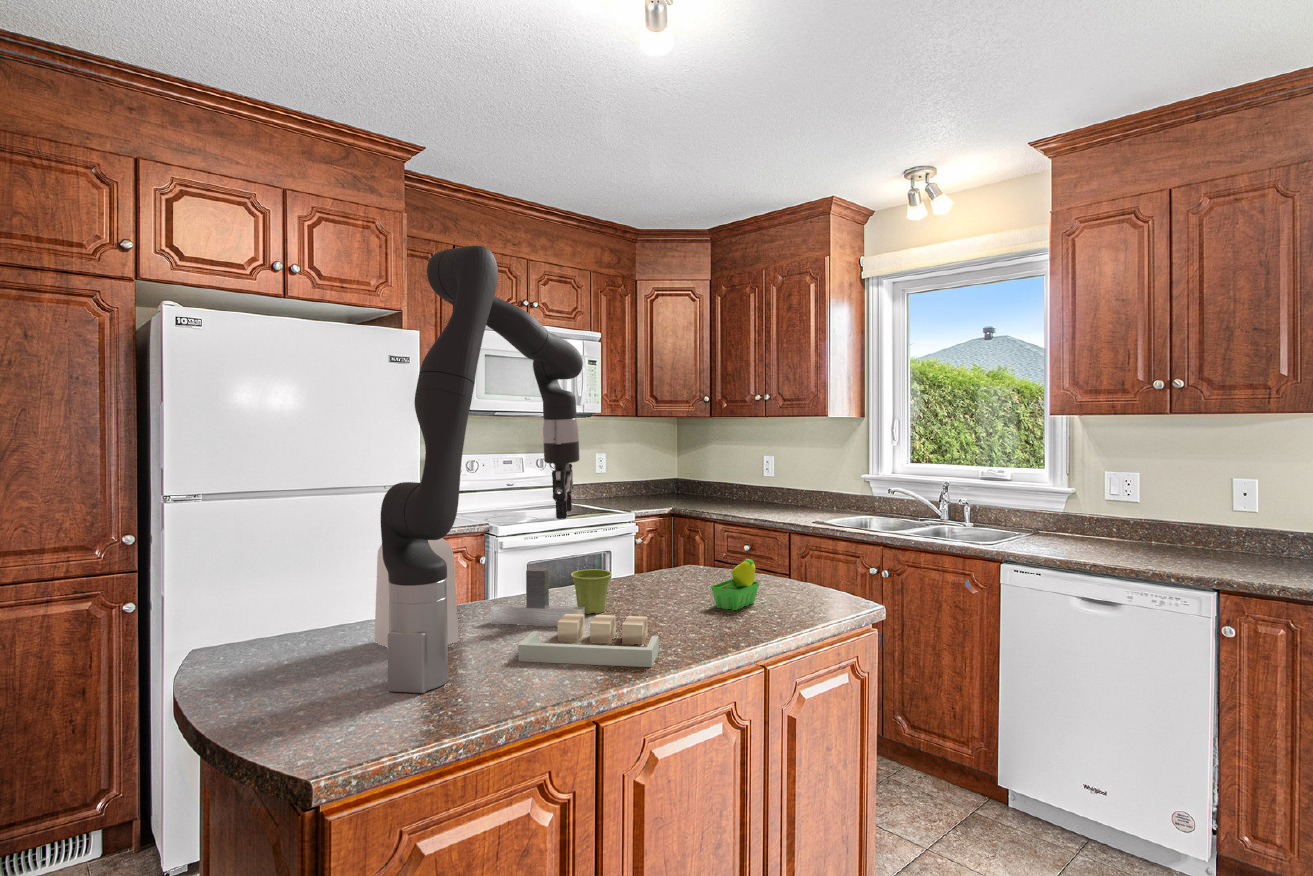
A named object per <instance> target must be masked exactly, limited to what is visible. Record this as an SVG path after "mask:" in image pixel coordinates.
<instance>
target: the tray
mask: <svg viewBox="0 0 1313 876" xmlns="http://www.w3.org/2000/svg"><path fill="white" fill-rule="evenodd" d="M659 638H660V637H659V635H652V636H651V638H650V640H649V642H648V643H647V646H646V647H645V646H626V645H625V646H624V645H623V646H620V645H601V644H600V645H597V644H596V645H595V644H572V643H570V644H569V643H548V642H546V643H545V642H544V643H543V642H540V631H539V630H538V631H537V630H536V631H535V630H533V631H532V632H531V633H530V634H528V635H527V636H526V637H525V638H524V639H523V640H521V642H520V643H519V644H518V645H517V646H518V647H517V648H518V662H526V663H528V662H529V663H548V664H549V663H551V664H573V665H590V666H591V665H595V666H616V667H617V666H618V667H638V668H639V667H640V668H653V666H654V664H655V662H654V661H656V659H657V657H658V654H659V651H660V650H659V646H660V645H659V644H660V641H659V640H660V639H659Z"/></svg>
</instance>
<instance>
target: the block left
mask: <svg viewBox="0 0 1313 876" xmlns="http://www.w3.org/2000/svg"><path fill="white" fill-rule="evenodd" d="M585 615H586V614H585ZM585 615H583V614H565V615H564V616H563V617H562V618H561V619H560V620H559V621H558V627H557V642H559V641H564V643H566V642H565V641H568V642H567V643H578V642H579V641H580V640H581V638H582V637H583V636H584V635H585V630H586V629H585V623H586V622H585ZM583 634H584V635H583Z"/></svg>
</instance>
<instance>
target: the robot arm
mask: <svg viewBox="0 0 1313 876" xmlns="http://www.w3.org/2000/svg"><path fill="white" fill-rule="evenodd" d="M426 275H427V276H426V277H427V280H428V283H429V285H430V287H431V289H432V291H433V292H434V293H435V294H436V295H437V296H438V297H439V298H441V299H442V300H443V301H445V302H447V303H449V304H450V305H452V306H453V309H452V313H451V316H450V318H449V320H448V322H447V324H446V325H445V327H444V329H442V332H441V333H440V335H439V336H438V337H437V339H436V340H435V342H434V343H433V344H432V346H431V347H430V348H429V350H428V351H427V353H426V355H425V356H424V358H423V360H422V362H421V366H420V369H419V373H418V378H417V381H416V382H417V383H416V389H415V394H414V403H413V404H414V410H415V414H416V418H417V422H418V425H419V428H420V431H421V433H422V437H423V441H424V449H425V450H424V451H425V454H424V456H425V458H424V465H423V472H422V476H421V480H420V482H415V481H414V482H413V481H412V482H411V481H409V482H408V481H403V482H398V483H395V484H394V485H392V486H391V487H390V488H389V489H388V490H387V491H386V493H385V494H384V496H383V499H382V502H381V507H380V533H381V535H380V536H381V545H382V553H383V561H384V564H385V567H386V569H387V571H388V581H389V633H388V648H387V691H388V692H395V693H396V692H397V693H398V692H399V693H414V694H415V693H416V694H417V693H419V694H424V693H426V692H427V691H430V690H434V689H436V688H440V687H441V686H444V685H445V684H446V683H447V682H448V681H449V650H448V648H449V645H448V619H447V564H446V562H445V560H444V559H442V558H441V557H440V556H438V555H437V554H436V553H435V552H434V551H433V550H432V549H431V547H430V545H429V543H428V540H438V539H441V538H443V539H444V537H446V536H447V535H448V534H449V533H450V531H451V530H452V528H453V526H454V524H455V522H456V521H455V520H456V517H457V514H458V508H459V499H460V485H461V475H462V474H461V472H462V459H463V452H464V444H465V439H466V431H467V424H468V419H469V415H470V410H471V405H472V400H473V394H474V389H475V384H476V375H477V369H478V364H479V360H480V359H479V358H480V353H481V350H482V349H481V348H482V344H483V338H484V334H485V330H486V327H488V328H490V329H491V330H492V331H494V332H495V333H496V334H498V335H499V336H500V337H502V338H503V339H504V340H506V341H507V342H508V343H509V344H510V345H511V346H512V347H514V349H516V350H517V351H518V352H520V354H522V355H523V356H524V357H526V358H527V359H529V360H532V370H533V373H534V378H535V380H536V384H537V387H538V390H539V393H540V397H541V399H542V412H543V416H542V417H543V423H542V425H543V427H542V435H543V436H542V438H543V439H542V441H543V457H544V458H543V460H544V462H545V463H546V464H550V465H551V464H554V465H555V466H554V470H552V472H551V478H552V481H551V482H552V499H553V500H554V502H555V516H556V519H557V520H565V519H567V518H568V513H569V512H572V510H573V506H572V505H573V502H572V501H573V500H572V493H573V489H574V479H573V477H574V475H573V474H574V472H573V463H577V462H579V461H580V439H579V427H578V420H577V419H578V418H577V399H576V395H575V393H574V392H573V391H569V390H565V389H562V387H561V385H560V383H559V380H571V379H575V378H576V377H578V376H579V375H580V374H581V372H582V371H583V367H584V363H583V362H584V361H583V357H582V355H581V353H580V351H579V350H578V348H577V347H575V346H574V345H573V344H572V343H570V342H569V341H568V340H565V339H564V338H562V337H560V336H558V335H556V334H555V333H552V332H550V331H548V329H547V328H546V327H545V326H544V325H542V323H541V322H539V320H538V319H536V318H535V317H534V316H533V315H531V314H530V313H529V312H527V311H526V310H524V309H522V308H521V307H519V306H517V305H514V304H512V303H511V302H508V301H506V300H504V299H501V298H500V297H498V296H496V291H497V287H498V281H499V268H498V263H497V260H496V257H495V255H494V254H493V252H492V251H491V250H490V249H489V248H487V247H485V246H483V245H466V246H460V247H455V248H454V247H453V248H448V249H444V250H441V251H438V252H436V253H435V254H432V256H431V257H430V258H429V260H428V263H427V266H426Z"/></svg>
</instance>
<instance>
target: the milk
mask: <svg viewBox="0 0 1313 876" xmlns="http://www.w3.org/2000/svg"><path fill="white" fill-rule="evenodd" d="M428 543H429V545H430V547H431V549H432V550H433V551H434V552H435V553H436V554H437V555H438V556H440V557H441V558H442V559H444V560H445V562H446V564H447V619H448V646H449V645H451V644H452V643H453V644H456V643H459V642H460V639H459V623H458V622H459V620H458V605H457V603H458V602H457V589H456V588H457V587H456V576H455V575H456V573H455V561H454V560H455V557H454V556H455V555H454V551H453V548H452V546H451V545H450V543H449V542H447V540H445V539H444V537H443V538H441V539H438V540H428ZM376 562H377V563H376V586H375V587H376V589H375V610H374V611H375V612H374V613H375V616H374V617H375V618H374V641H375V642H377V643H378V644H377V643H376V644H377V645H379V644H380V645H379V646H381V645H382V646H381V647H383V646H386V647H387V648H386V649H388V633H389V581H388V571H387V569H386V567H385V564H384V561H383V553H382V544H380V546H379V548H378V550H377V561H376ZM374 641H373V642H374ZM458 641H459V642H458ZM453 644H452V645H453Z"/></svg>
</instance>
